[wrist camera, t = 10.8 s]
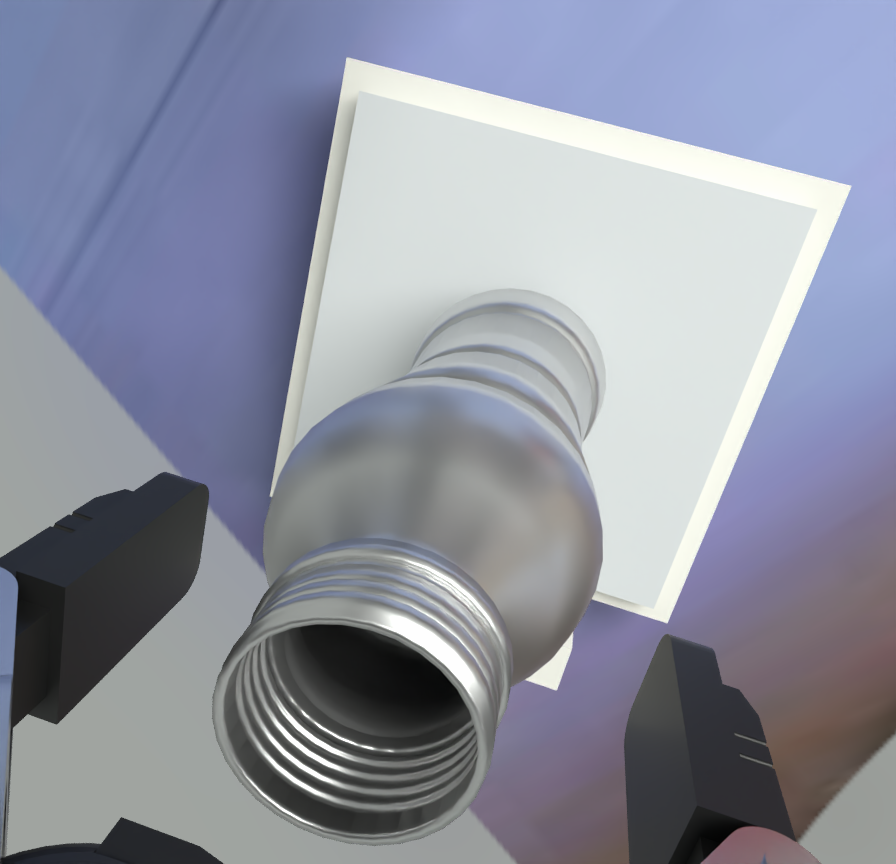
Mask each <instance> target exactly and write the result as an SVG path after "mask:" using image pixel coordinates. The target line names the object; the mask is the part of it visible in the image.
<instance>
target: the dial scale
mask: <svg viewBox="0 0 896 864" xmlns="http://www.w3.org/2000/svg"><path fill="white" fill-rule="evenodd" d="M850 189H851V186H849V185H845V184H841V183H837V182H834V181H830V180H826V179H822V178H818V177H814V176H810V175H806V174H802V173H798V172H794V171H790V170H787V169H783V168H779V167H775V166H771V165H767V164H763V163H759V162H755V161H751V160H747V159H743V158H740V157H736V156H732V155H728V154H724V153H720V152H716V151H712V150H708V149H704V148H700V147H696V146H693V145H689V144H685V143H681V142H677V141H673V140H669V139H665V138H661V137H657V136H653V135H649V134H646V133H642V132H638V131H634V130H630V129H626V128H622V127H618V126H614V125H610V124H606V123H602V122H599V121H595V120H591V119H587V118H583V117H579V116H575V115H571V114H567V113H563V112H559V111H555V110H551V109H548V108H544V107H540V106H536V105H532V104H528V103H524V102H520V101H516V100H512V99H508V98H504V97H501V96H497V95H493V94H489V93H485V92H481V91H477V90H473V89H469V88H465V87H461V86H457V85H454V84H450V83H446V82H442V81H438V80H434V79H430V78H426V77H422V76H418V75H414V74H410V73H407V72H403V71H399V70H395V69H391V68H387V67H383V66H379V65H375V64H371V63H367V62H363V61H360V60H356V59H352V58H348V57H347V60H346V65H345V71H344V77H343V82H342V88H341V94H340V99H339V105H338V111H337V116H336V122H335V128H334V134H333V139H332V145H331V151H330V156H329V162H328V168H327V173H326V179H325V185H324V190H323V196H322V202H321V208H320V213H319V219H318V225H317V230H316V236H315V242H314V247H313V253H312V259H311V265H310V270H309V276H308V282H307V287H306V293H305V299H304V304H303V310H302V316H301V321H300V327H299V333H298V339H297V344H296V350H295V356H294V361H293V367H292V373H291V378H290V384H289V390H288V395H287V401H286V407H285V413H284V418H283V424H282V430H281V435H280V441H279V447H278V452H277V458H276V464H275V469H274V475H273V481H272V487H271V492H270V496H271V497H272V496H273V492H274V489H275V486H276V483H277V480H278V477H279V475H280V473H281V471H282V469H283V467H284V465H285V463H286V461H287V459H288V457H289V456H290V454H291V452H292V450H293V449H294V448H295V447H296V445H297V444H298V443H299V442H300V441H301V440H302V438H303V437H304V436H305V435H306V434H307V433H308V431H309V430H310V429H311V428H312V427H313V426H315V425H316V424H317V423H319V422H320V421H321V420H323V419H324V418H325V417H327V416H328V415H329V414H331V413H332V412H333V411H334V410H336V409H337V408H339V407H341V406H342V405H344V404H346V403H347V402H349V401H350V400H351V399H353V398H355V397H357V396H360V395H362V394H364V393H366V392H368V391H370V390H372V389H374V388H376V387H379V386H382V385H384V384H387V383H389V382H392V381H394V380H396V379H399V378H401V377H404V376H405V375H406V374H408V373H409V372H410V369H411V366H412V363H413V360H414V356H415V354H416V352H417V349H418V347H419V345H420V343H421V342H422V340H423V338H424V336H425V335H426V333H427V331H428V329H429V328H430V327H431V326H432V325H433V323H434V322H435V321H436V320H437V319H438V318H439V317H440V315H442V314H443V313H444V312H445V311H447V310H448V309H449V308H451V307H452V306H453V305H455V304H456V303H458V302H460V301H462V300H464V299H466V298H468V297H470V296H472V295H475V294H478V293H482V292H486V291H489V290H496V289H509V288H513V289H522V290H530V291H534V292H537V293H540V294H543V295H546V296H549V297H552V298H553V299H555V300H557V301H559V302H561V303H562V304H564V305H566V306H568V307H569V308H570V309H571V310H572V311H573V312H574V313H576V314H577V315H578V316H579V317H580V318H581V319H582V320H583V321H584V322H585V324H586V325H587V326H588V328H589V329H590V330H591V332H592V333H593V334H594V336H595V338H596V340H597V343H598V345H599V347H600V349H601V351H602V355H603V360H604V364H605V369H606V390H605V395H604V400H603V404H602V407H601V410H600V412H599V414H598V417H597V419H596V421H595V423H594V425H593V427H592V429H591V431H590V433H589V435H588V436H587V437H586V439H585V440H584V442H583V443H582V454H583V456H584V459H585V462H586V465H587V468H588V471H589V473H590V476H591V479H592V481H593V485H594V489H595V493H596V497H597V501H598V505H599V509H600V517H601V524H602V529H603V562H602V567H601V571H600V575H599V580H598V584H597V589H596V591H595V593H594V595H593V597H592V599H593V600H596V601H599V602H602V603H606V604H609V605H612V606H615V607H618V608H621V609H624V610H627V611H631V612H634V613H637V614H640V615H643V616H646V617H649V618H652V619H656V620H659V621H662V622H665V623H668V620H669V618H670V616H671V613H672V611H673V609H674V606H675V604H676V601H677V599H678V597H679V594H680V592H681V590H682V587H683V585H684V582H685V580H686V578H687V575H688V573H689V571H690V568H691V566H692V563H693V561H694V559H695V556H696V554H697V552H698V549H699V547H700V544H701V542H702V540H703V537H704V535H705V533H706V530H707V528H708V526H709V523H710V521H711V518H712V516H713V514H714V511H715V509H716V507H717V504H718V502H719V499H720V497H721V495H722V492H723V490H724V488H725V485H726V483H727V480H728V478H729V476H730V473H731V471H732V469H733V466H734V464H735V461H736V459H737V457H738V454H739V452H740V450H741V447H742V445H743V442H744V440H745V438H746V435H747V433H748V431H749V428H750V426H751V423H752V421H753V419H754V416H755V414H756V412H757V409H758V407H759V404H760V402H761V400H762V397H763V395H764V393H765V390H766V388H767V385H768V383H769V381H770V378H771V376H772V374H773V371H774V369H775V367H776V364H777V362H778V359H779V357H780V355H781V352H782V350H783V348H784V345H785V343H786V340H787V338H788V336H789V333H790V331H791V329H792V326H793V324H794V321H795V319H796V317H797V314H798V312H799V310H800V307H801V305H802V302H803V300H804V298H805V295H806V293H807V291H808V288H809V286H810V283H811V281H812V279H813V276H814V274H815V272H816V269H817V267H818V264H819V262H820V260H821V257H822V255H823V253H824V250H825V248H826V245H827V243H828V241H829V238H830V236H831V234H832V231H833V229H834V227H835V224H836V222H837V219H838V217H839V215H840V212H841V210H842V208H843V205H844V203H845V200H846V198H847V196H848V193H849V191H850ZM572 641H573V633H572V634H571V636H570V637H569V638H568V640H567V641H566V642H565V643H564V645H563V646H562V647H561V648H560V650H559V651H558V652H557V653H556V655H555V656H554V657H553V658H552V659H551V660H550V661H549V662H548V663H546V664H545V665H544V666H543V667H542V668H540V669H539V670H538V671H537V672H535V673H534V674H533V675H532V676H531V677H529V678H527V679H525V680H527V681H530V682H533V683H536V684H539V685H542V686H545V687H548V688H551V689H554V690H557V688H558V685H559V683H560V680H561V677H562V674H563V672H564V669H565V666H566V664H567V661H568V658H569V656H570V653H571V650H572Z"/></svg>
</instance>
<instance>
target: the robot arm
mask: <svg viewBox="0 0 896 864" xmlns="http://www.w3.org/2000/svg"><path fill="white" fill-rule="evenodd" d="M208 500H209V491H208V488H207V486H206V485H204V484H202V483H198V482H195V481H192V480H189V479H186V478H183V477H180V476H177V475H173V474H170V473H167V472H163V473H160V474H159V475H157V476H156V477H154V478H153V479H151V480H150V481H148V482H147V483H145V484H144V485H142V486H141V487H139V488H138V489H136V490H135V491H129V490H126V489H124V490H121V491H117V492H114V493H110V494H106V495H103V496H99V497H96V498H94V499H92V500H91V501H89V502H88V503H86V504H85V505H83V506H81V507H80V508H78V509H77V510H75V511H73V514H72V515H67V516H66V517H64V518H62V519H61V520H59V521H58V522H56V523H55V525H54V527H49V528H47V529H45V530H43V531H42V532H40V533H39V534H37V535H36V536H34V537H33V538H31V539H29V540H28V541H26V542H25V543H23V544H22V545H20V546H19V547H17V548H15V549H14V550H12V551H10V552H9V553H7V554H6V555H4V556H3V557H1V558H0V864H223V863H222V862H221V861H219V860H218V859H217V858H215V857H213V856H212V855H211V854H210V853H208V852H207V851H205V850H204V849H203V848H201V847H200V846H197V845H195V844H192V843H189V842H187V841H184V840H181V839H178V838H176V837H173V836H170V835H168V834H165V833H162V832H159V831H157V830H154V829H151V828H149V827H146V826H143V825H140V824H138V823H135V822H133V821H130V820H127V819H124V818H122V817H121V818H120V820H119V821H118V822H117V824H116V825H115V826H114V828H113V829H112V830H111V832H110V833H109V834H108V836H107V837H106V838H105V840H104V841H103V842H102V844H94V843H78V844H77V843H76V844H75V843H74V844H61V845H53V846H45V847H40V848H36V849H31V850H27V851H22V852H19V853H16V854H12V855H9V856H6V849H7V830H8V813H9V795H10V776H11V758H12V740H13V727H14V726H15V725H17V724H18V723H19V721H21V720H22V719H23V718H24V717H25V716H26V715H27V714H29V715H32V716H34V717H37V718H40V719H43V720H46V721H48V722H51V723H54V724H58V723H59V722H60V721H61V720H62V719H63V718H64V717H65V716H66V715H67V714H68V713H69V712H70V711H71V710H72V709H73V708H74V707H75V706H76V705H77V704H78V703H79V702H80V701H81V700H82V699H83V698H84V697H85V696H86V695H87V694H88V693H89V692H90V691H91V690H92V689H93V688H94V687H95V686H96V684H98V683H99V681H100V680H102V679H103V677H104V676H105V675H107V673H108V672H109V671H110V670H111V669H112V668H113V667H114V666H115V665H116V664H117V663H118V662H119V661H120V660H121V659H122V658H123V657H124V656H125V655H126V654H127V653H128V652H129V651H130V650H131V649H132V648H133V647H134V646H135V645H136V644H137V643H138V642H139V641H140V640H141V639H142V638H143V637H144V636H145V635H146V634H147V633H148V632H149V631H150V630H151V629H152V628H153V627H154V626H155V625H156V624H157V623H158V622H159V621H160V620H161V619H162V618H163V617H164V616H165V615H166V614H167V613H168V612H169V611H170V610H171V609H172V608H173V607H174V606H175V605H176V604H177V603H178V602H179V601H180V600H181V599H182V598H183V597H184V596H185V594H186V593H187V592H188V590H189V588H190V587H191V585H192V583H193V581H194V579H195V576H196V574H197V571H198V568H199V564H200V557H201V550H202V543H203V535H204V529H205V521H206V514H207V508H208ZM624 753H625V775H626V797H627V819H628V841H629V863H630V864H821V863H820V862H819V861H818V860H817V859H816V858H815V857H814V856H813V855H812V854H811V853H810V852H809V851H807V850H806V849H805V848H803V847H802V846H801V845H799V844H798V843H797V842H796V839H795V836H794V833H793V829H792V826H791V822H790V819H789V816H788V812H787V809H786V806H785V802H784V799H783V796H782V792H781V789H780V786H779V782H778V779H777V776H776V772H775V769H772V765H773V762H772V759H771V755H770V752H769V749H768V747H766V739H765V735H764V732H763V729H762V725H761V722H760V719H759V716H758V714H757V713H756V712H755V710H754V709H753V708H752V706H751V705H750V704H749V702H748V701H747V700H746V698H745V697H744V696H743V694H742V693H741V692H740V690H739V689H736V688H733V687H730V686H727V685H723V684H722V680H721V676H720V672H719V668H718V664H717V660H716V656H715V652H714V650H713V649H712V648H710V647H707V646H704V645H701V644H697V643H694V642H691V641H688V640H685V639H682V638H679V637H676V636H672V635H669V634H666V635H664V636H663V638H662V639H661V641H660V642H659V645H658V647H657V649H656V651H655V654H654V656H653V658H652V661H651V663H650V666H649V668H648V670H647V673H646V675H645V677H644V680H643V682H642V684H641V687H640V689H639V692H638V694H637V696H636V699H635V701H634V703H633V706H632V708H631V711H630V714H629V718H628V722H627V727H626V732H625V741H624Z"/></svg>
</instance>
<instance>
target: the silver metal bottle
mask: <svg viewBox="0 0 896 864" xmlns="http://www.w3.org/2000/svg"><path fill="white" fill-rule="evenodd" d="M605 390H606V369H605V364H604V360H603V355H602V351H601V349H600V347H599V345H598V343H597V340H596V338H595V336H594V334H593V333H592V332H591V330H590V329H589V328H588V326H587V325H586V324H585V322H584V321H583V320H582V319H581V318H580V317H579V316H578V315H577V314H576V313H574V312H573V311H572V310H571V309H570V308H569V307H568V306H566V305H564V304H562V303H561V302H559V301H557V300H555V299H553V298H552V297H549V296H546V295H543V294H540V293H537V292H534V291H530V290H522V289H513V288H509V289H496V290H489V291H486V292H482V293H478V294H475V295H472V296H470V297H468V298H466V299H464V300H462V301H460V302H458V303H456V304H455V305H453V306H452V307H451V308H449V309H448V310H447V311H445V312H444V313H443V314H442V315H440V317H439V318H438V319H437V320H436V321H435V322H434V323H433V325H432V326H431V327H430V328H429V329H428V331H427V333H426V335H425V336H424V338H423V340H422V342H421V343H420V345H419V347H418V349H417V352H416V354H415V356H414V360H413V363H412V366H411V369H410V372H409V373H408V374H406V375H405V376H404V377H401V378H399V379H396V380H394V381H392V382H389V383H387V384H384V385H382V386H379V387H376V388H374V389H372V390H370V391H368V392H366V393H364V394H362V395H360V396H357V397H355V398H353V399H351V400H350V401H349V402H347V403H346V404H344V405H342V406H341V407H339V408H337V409H336V410H334V411H333V412H332V413H331V414H329V415H328V416H327V417H325V418H324V419H323V420H321V421H320V422H319V423H317V424H316V425H315V426H313V427H312V428H311V429H310V430H309V431H308V433H307V434H306V435H305V436H304V437H303V438H302V440H301V441H300V442H299V443H298V444H297V445H296V447H295V448H294V449H293V450H292V452H291V454H290V456H289V457H288V459H287V461H286V463H285V465H284V467H283V469H282V471H281V473H280V475H279V477H278V480H277V483H276V486H275V489H274V492H273V496H272V499H271V502H270V506H269V510H268V513H267V517H266V521H265V525H264V539H263V557H264V564H265V570H266V576H267V581H268V584H269V587H270V588H269V589H268V591H267V592H266V593H265V594H264V596H263V598H262V599H261V601H260V603H259V605H258V606H257V608H256V610H255V612H254V614H253V617H252V621H251V624H250V625H249V627H248V628H247V629H246V631H245V632H244V633H243V635H242V636H241V637H240V638H239V640H238V641H237V642H236V644H235V645H234V646H233V648H232V650H231V652H230V653H229V655H228V657H227V659H226V660H225V662H224V664H223V667H222V670H221V672H220V674H219V675H218V679H217V682H216V686H215V690H214V694H213V708H212V719H213V724H214V729H215V733H216V738H217V741H218V744H219V746H220V749H221V751H222V753H223V756H224V758H225V760H226V762H227V763H228V765H229V766H230V768H231V769H232V771H233V772H234V774H235V775H236V777H237V778H238V780H239V781H240V782H241V783H242V785H243V786H244V787H245V788H246V789H247V790H248V791H249V792H250V793H251V794H252V795H253V796H254V797H255V798H256V799H257V800H258V801H259V802H260V803H262V804H263V805H264V806H266V807H267V808H268V809H269V810H271V811H272V812H273V813H274V814H276V815H277V816H279V817H281V818H283V819H284V820H286V821H288V822H290V823H291V824H293V825H295V826H297V827H298V828H301V829H303V830H306V831H308V832H311V833H313V834H316V835H318V836H321V837H324V838H328V839H332V840H336V841H340V842H345V843H349V844H360V845H372V846H376V845H391V844H401V843H405V842H409V841H412V840H417V839H421V838H424V837H426V836H428V835H430V834H432V833H435V832H437V831H439V830H441V829H443V828H445V827H446V826H447V825H449V824H450V823H451V822H453V821H454V820H455V819H457V818H458V817H459V816H461V815H462V814H463V813H464V811H465V810H466V809H467V808H468V807H469V805H470V804H471V803H472V802H473V800H474V799H475V798H476V796H477V794H478V792H479V790H480V788H481V785H482V783H483V781H484V779H485V776H486V774H487V772H488V770H489V768H490V764H491V758H492V753H493V748H494V742H495V735H496V729H497V728H498V726H499V724H500V721H501V719H502V717H503V715H504V713H505V711H506V708H507V703H508V698H509V693H510V687H512V686H514V685H516V684H518V683H519V682H521V681H523V680H525V679H527V678H529V677H531V676H532V675H533V674H534V673H535V672H537V671H538V670H539V669H540V668H542V667H543V666H544V665H545V664H546V663H548V662H549V661H550V660H551V659H552V658H553V657H554V656H555V655H556V653H557V652H558V651H559V650H560V648H561V647H562V646H563V645H564V643H565V642H566V641H567V640H568V638H569V637H570V636H571V634H572V633H573V631H574V630H575V628H576V627H577V625H578V624H579V622H580V620H581V619H582V617H583V616H584V614H585V612H586V610H587V608H588V606H589V604H590V602H591V599H592V597H593V595H594V593H595V591H596V589H597V584H598V580H599V575H600V571H601V567H602V562H603V529H602V524H601V517H600V509H599V505H598V501H597V497H596V493H595V489H594V485H593V481H592V479H591V476H590V473H589V471H588V468H587V465H586V462H585V459H584V456H583V454H582V443H583V442H584V440H585V439H586V437H587V436H588V435H589V433H590V431H591V429H592V427H593V425H594V423H595V421H596V419H597V417H598V414H599V412H600V410H601V407H602V404H603V400H604V395H605Z"/></svg>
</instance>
